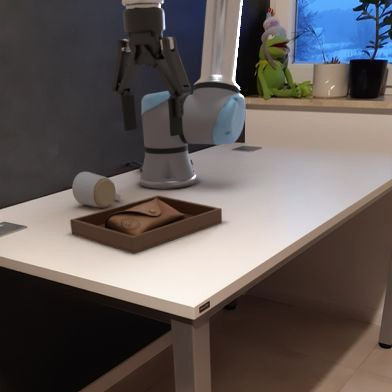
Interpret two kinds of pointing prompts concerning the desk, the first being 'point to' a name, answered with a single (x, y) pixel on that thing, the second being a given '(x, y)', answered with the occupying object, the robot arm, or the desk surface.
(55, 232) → the desk surface
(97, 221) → the valet tray
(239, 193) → the desk surface
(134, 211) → the sunglasses case
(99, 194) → the ceramic mug
